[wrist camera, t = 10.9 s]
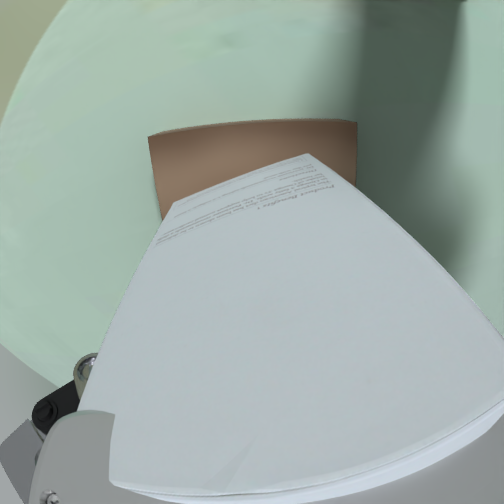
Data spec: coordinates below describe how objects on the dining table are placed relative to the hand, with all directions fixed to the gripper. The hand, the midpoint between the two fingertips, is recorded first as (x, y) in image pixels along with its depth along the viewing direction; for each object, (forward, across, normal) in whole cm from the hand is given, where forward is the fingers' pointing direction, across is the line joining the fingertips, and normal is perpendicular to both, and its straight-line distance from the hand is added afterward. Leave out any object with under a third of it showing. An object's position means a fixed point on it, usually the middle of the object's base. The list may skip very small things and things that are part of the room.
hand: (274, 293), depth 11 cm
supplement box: (+5, 0, 0) cm, 5 cm away
